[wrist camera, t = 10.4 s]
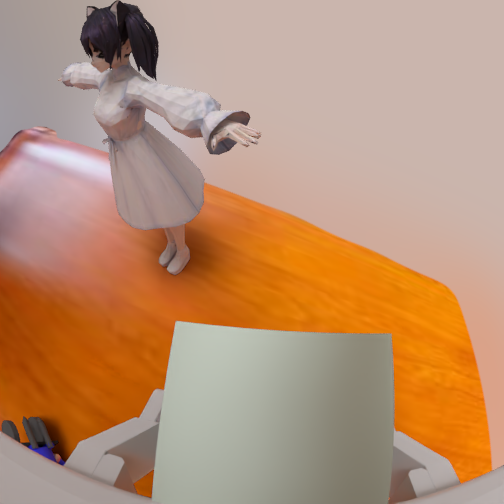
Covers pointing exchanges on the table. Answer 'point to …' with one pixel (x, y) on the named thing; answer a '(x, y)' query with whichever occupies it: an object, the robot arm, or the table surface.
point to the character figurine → (34, 437)
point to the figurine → (150, 126)
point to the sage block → (275, 418)
